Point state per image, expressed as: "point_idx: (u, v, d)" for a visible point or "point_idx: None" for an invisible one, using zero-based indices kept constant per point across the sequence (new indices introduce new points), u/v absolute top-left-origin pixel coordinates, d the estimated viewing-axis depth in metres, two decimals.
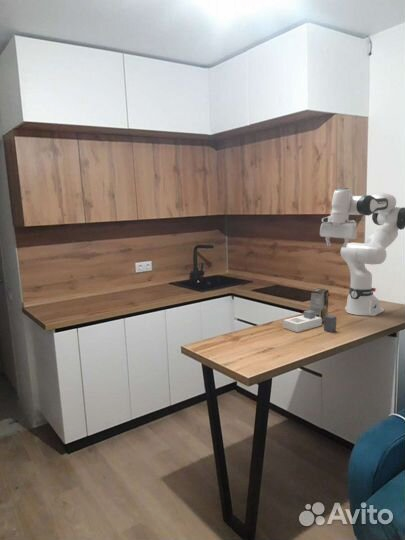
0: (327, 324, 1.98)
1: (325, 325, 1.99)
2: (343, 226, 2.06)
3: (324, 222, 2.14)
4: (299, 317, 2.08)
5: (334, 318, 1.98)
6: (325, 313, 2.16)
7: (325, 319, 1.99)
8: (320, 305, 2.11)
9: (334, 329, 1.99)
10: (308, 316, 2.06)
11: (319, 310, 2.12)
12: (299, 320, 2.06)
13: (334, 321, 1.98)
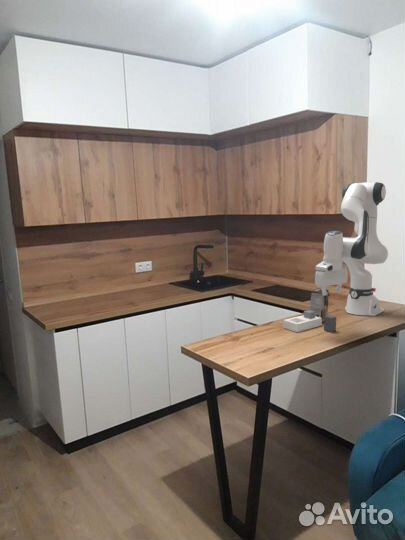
0: (327, 324, 1.98)
1: (325, 325, 1.99)
2: (340, 271, 1.96)
3: (328, 271, 1.89)
4: (299, 317, 2.08)
5: (334, 318, 1.98)
6: (325, 313, 2.16)
7: (325, 319, 1.99)
8: (320, 305, 2.11)
9: (334, 329, 1.99)
10: (308, 316, 2.06)
11: (319, 310, 2.12)
12: (299, 320, 2.06)
13: (334, 321, 1.98)
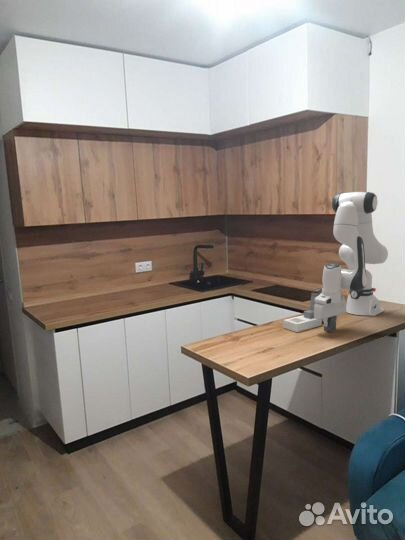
0: None
1: None
2: (339, 303, 1.99)
3: (327, 304, 1.91)
4: (299, 317, 2.08)
5: (334, 318, 1.98)
6: None
7: None
8: None
9: (334, 329, 1.99)
10: (308, 316, 2.06)
11: None
12: (299, 320, 2.06)
13: (334, 321, 1.98)
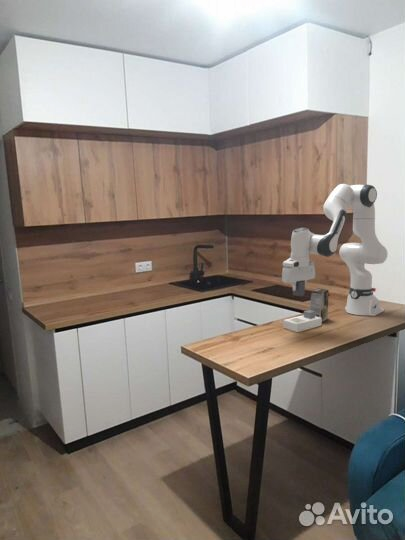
0: None
1: None
2: (308, 268, 2.00)
3: (294, 267, 1.93)
4: (299, 317, 2.08)
5: (302, 282, 1.99)
6: (325, 313, 2.16)
7: None
8: (320, 305, 2.11)
9: (302, 294, 2.00)
10: (308, 316, 2.06)
11: (319, 310, 2.12)
12: (299, 320, 2.06)
13: (302, 285, 1.99)
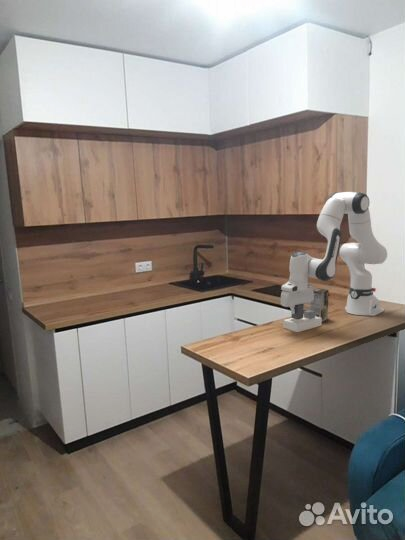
0: None
1: None
2: (306, 291, 2.02)
3: (293, 291, 1.95)
4: None
5: (301, 306, 2.01)
6: (325, 313, 2.16)
7: None
8: (320, 305, 2.11)
9: (301, 317, 2.02)
10: (308, 316, 2.06)
11: (319, 310, 2.12)
12: (299, 320, 2.06)
13: (301, 309, 2.01)
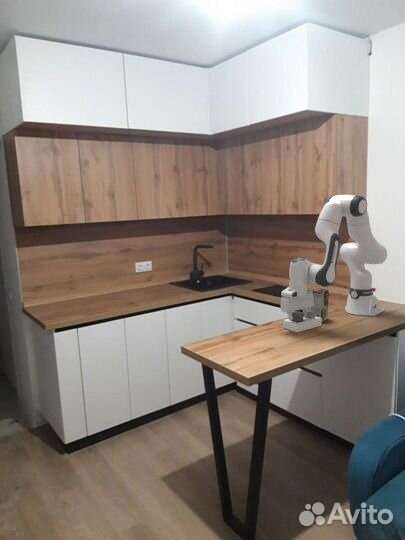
0: (294, 319, 2.02)
1: (293, 321, 2.03)
2: (306, 296, 2.03)
3: (293, 297, 1.95)
4: None
5: (301, 314, 2.02)
6: (325, 313, 2.16)
7: (292, 315, 2.03)
8: (320, 305, 2.11)
9: None
10: (308, 316, 2.06)
11: (319, 310, 2.12)
12: None
13: (301, 317, 2.02)
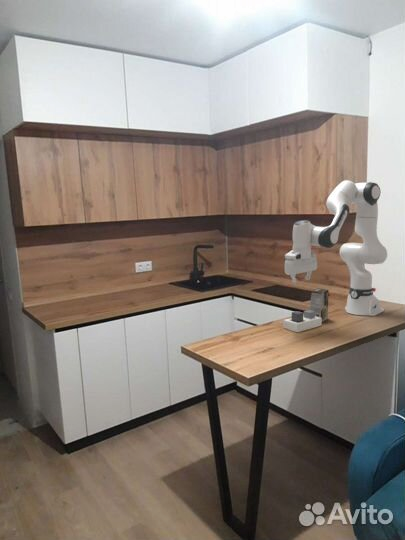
0: (294, 319, 2.02)
1: (293, 321, 2.03)
2: (309, 259, 2.04)
3: (296, 259, 1.96)
4: None
5: (301, 314, 2.02)
6: (325, 313, 2.16)
7: (292, 315, 2.03)
8: (320, 305, 2.11)
9: None
10: (308, 316, 2.06)
11: (319, 310, 2.12)
12: None
13: (301, 317, 2.02)
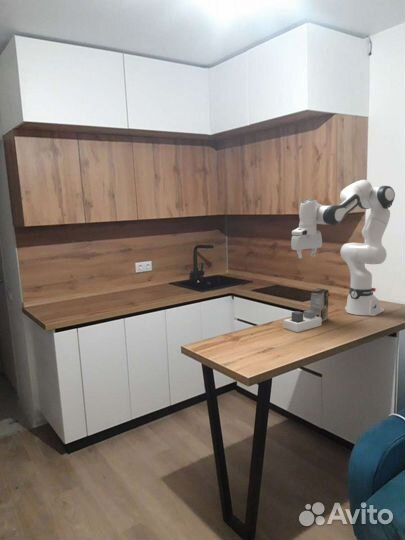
0: (294, 319, 2.02)
1: (293, 321, 2.03)
2: (315, 237, 2.14)
3: (303, 235, 2.07)
4: None
5: (301, 314, 2.02)
6: (325, 313, 2.16)
7: (292, 315, 2.03)
8: (320, 305, 2.11)
9: None
10: (308, 316, 2.06)
11: (319, 310, 2.12)
12: None
13: (301, 317, 2.02)
